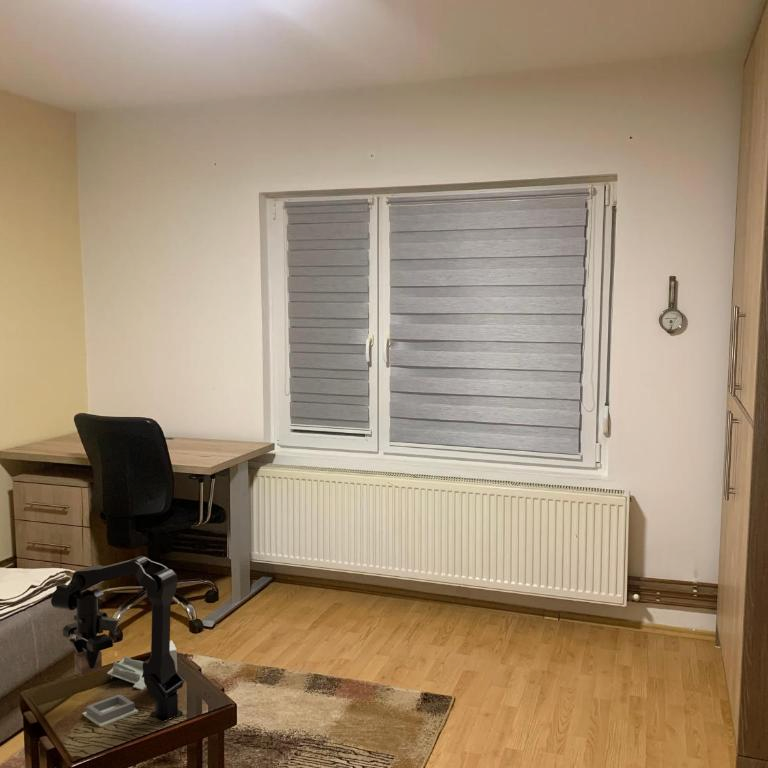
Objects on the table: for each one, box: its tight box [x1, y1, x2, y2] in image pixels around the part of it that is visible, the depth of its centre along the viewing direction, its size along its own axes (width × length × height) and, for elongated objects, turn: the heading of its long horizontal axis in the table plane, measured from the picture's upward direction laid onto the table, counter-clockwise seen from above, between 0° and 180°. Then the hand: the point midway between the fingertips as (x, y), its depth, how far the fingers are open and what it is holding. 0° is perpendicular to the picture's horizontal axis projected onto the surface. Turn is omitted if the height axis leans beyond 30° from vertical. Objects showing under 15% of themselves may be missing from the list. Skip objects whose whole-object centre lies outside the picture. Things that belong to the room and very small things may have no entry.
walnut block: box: [74, 650, 103, 676], centre depth 222 cm, size 4×6×5 cm, turn 138°
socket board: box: [82, 694, 139, 728], centre depth 214 cm, size 10×11×2 cm
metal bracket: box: [107, 655, 147, 691], centre depth 237 cm, size 14×6×15 cm
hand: (88, 665), depth 222 cm, fingers closed on walnut block, 4 cm apart
